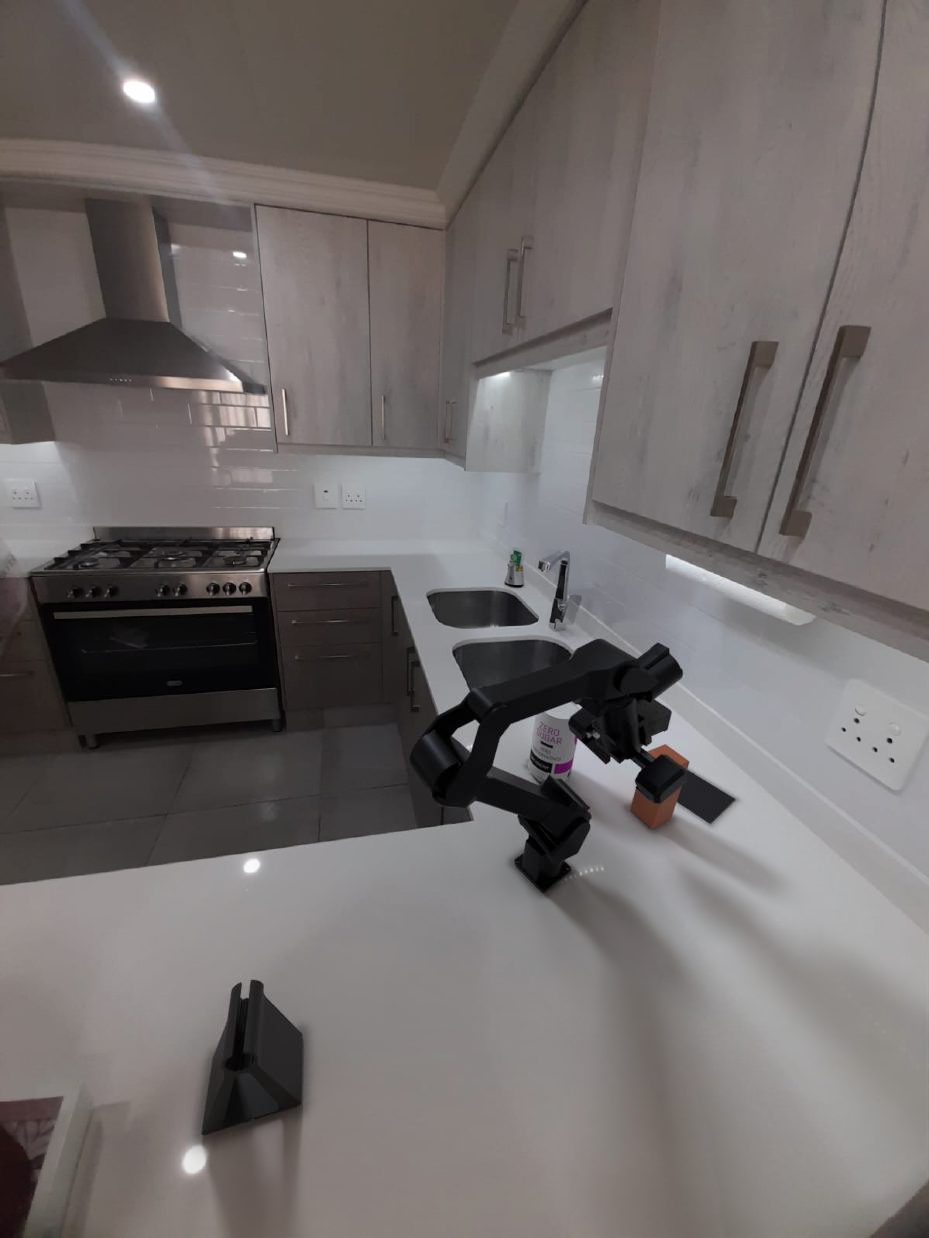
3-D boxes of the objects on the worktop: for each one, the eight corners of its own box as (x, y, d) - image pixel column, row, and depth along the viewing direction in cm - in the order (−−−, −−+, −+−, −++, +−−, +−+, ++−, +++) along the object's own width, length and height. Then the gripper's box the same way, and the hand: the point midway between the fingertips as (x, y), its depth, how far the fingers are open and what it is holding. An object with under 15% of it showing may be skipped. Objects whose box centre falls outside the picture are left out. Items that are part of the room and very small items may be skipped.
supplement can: (567, 760, 99) (579, 697, 92) (571, 789, 91) (585, 723, 85) (527, 755, 99) (537, 693, 93) (528, 784, 92) (538, 718, 86)
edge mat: (709, 823, 86) (710, 823, 86) (649, 783, 94) (649, 782, 94) (735, 799, 92) (735, 798, 92) (676, 763, 100) (676, 762, 100)
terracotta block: (651, 829, 84) (669, 770, 78) (629, 809, 88) (645, 751, 82) (671, 819, 86) (690, 761, 81) (648, 800, 90) (665, 743, 85)
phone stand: (303, 1036, 54) (294, 969, 49) (301, 1105, 48) (291, 1039, 43) (213, 1059, 51) (195, 991, 46) (201, 1135, 46) (179, 1068, 41)
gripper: (714, 720, 64) (714, 788, 73) (611, 656, 79) (621, 720, 87) (653, 769, 61) (661, 834, 70) (558, 694, 76) (574, 755, 84)
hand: (628, 779), depth 78 cm, fingers open, 9 cm apart
